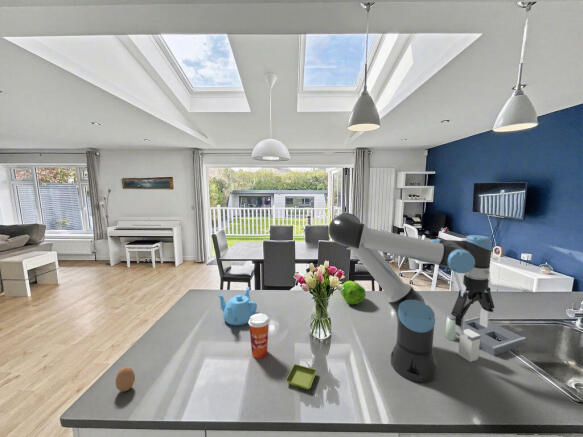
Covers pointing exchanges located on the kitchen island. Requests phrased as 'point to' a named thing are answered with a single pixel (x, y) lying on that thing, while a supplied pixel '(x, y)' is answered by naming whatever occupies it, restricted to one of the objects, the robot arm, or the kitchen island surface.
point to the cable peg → (450, 328)
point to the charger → (469, 345)
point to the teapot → (238, 309)
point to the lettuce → (353, 292)
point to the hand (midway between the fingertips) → (471, 329)
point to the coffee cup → (259, 334)
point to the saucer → (301, 376)
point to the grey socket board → (493, 330)
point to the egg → (125, 379)
